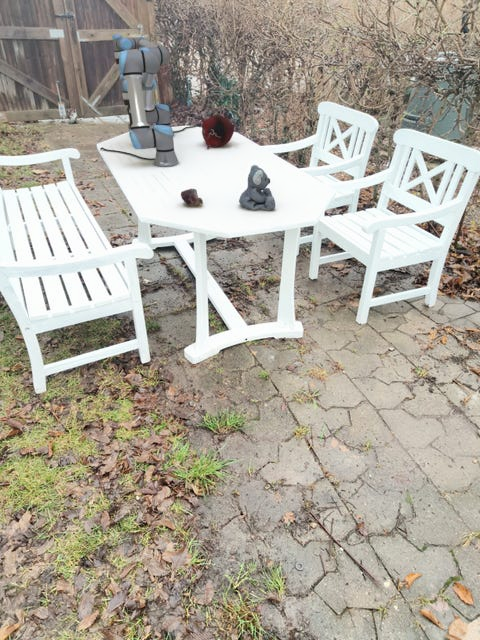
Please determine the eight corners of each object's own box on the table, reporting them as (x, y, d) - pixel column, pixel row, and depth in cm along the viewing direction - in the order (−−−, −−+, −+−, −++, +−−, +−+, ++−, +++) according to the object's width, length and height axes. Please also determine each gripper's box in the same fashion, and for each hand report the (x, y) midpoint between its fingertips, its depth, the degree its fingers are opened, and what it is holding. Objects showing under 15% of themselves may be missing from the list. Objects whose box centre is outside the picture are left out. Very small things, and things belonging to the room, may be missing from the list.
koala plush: (276, 211, 223) (277, 171, 212) (240, 212, 222) (240, 172, 211) (271, 199, 237) (272, 161, 226) (237, 200, 236) (237, 162, 225)
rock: (196, 202, 238) (178, 205, 233) (194, 185, 234) (176, 188, 230) (205, 205, 228) (187, 208, 224) (203, 188, 224) (185, 191, 220)
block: (129, 136, 328) (128, 125, 323) (129, 135, 332) (128, 123, 327) (137, 136, 329) (136, 124, 324) (137, 135, 333) (136, 123, 328)
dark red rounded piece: (199, 121, 337) (198, 117, 314) (230, 114, 337) (230, 110, 313) (206, 150, 344) (205, 149, 321) (236, 143, 343) (237, 142, 320)
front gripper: (134, 100, 309) (138, 136, 323) (134, 96, 324) (138, 131, 337) (122, 101, 308) (128, 136, 321) (123, 97, 323) (128, 131, 336)
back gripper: (124, 59, 338) (128, 90, 350) (125, 56, 358) (129, 86, 370) (114, 59, 336) (119, 91, 349) (115, 57, 357) (120, 86, 369)
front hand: (133, 133), depth 329 cm, fingers closed on block, 5 cm apart
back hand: (124, 88), depth 359 cm, fingers open, 13 cm apart
